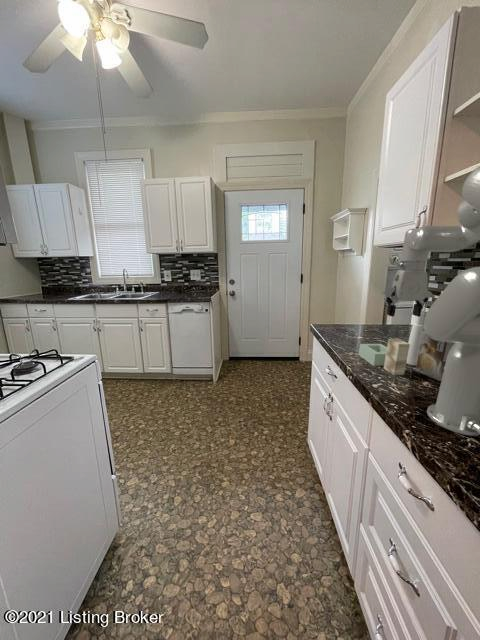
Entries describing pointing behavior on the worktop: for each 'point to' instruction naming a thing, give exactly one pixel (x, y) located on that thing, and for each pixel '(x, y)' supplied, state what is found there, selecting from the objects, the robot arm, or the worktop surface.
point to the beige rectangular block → (396, 356)
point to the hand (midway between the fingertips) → (403, 315)
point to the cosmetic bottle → (415, 339)
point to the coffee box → (432, 357)
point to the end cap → (373, 353)
